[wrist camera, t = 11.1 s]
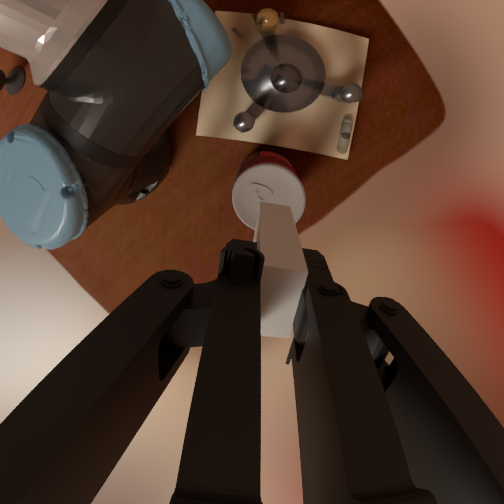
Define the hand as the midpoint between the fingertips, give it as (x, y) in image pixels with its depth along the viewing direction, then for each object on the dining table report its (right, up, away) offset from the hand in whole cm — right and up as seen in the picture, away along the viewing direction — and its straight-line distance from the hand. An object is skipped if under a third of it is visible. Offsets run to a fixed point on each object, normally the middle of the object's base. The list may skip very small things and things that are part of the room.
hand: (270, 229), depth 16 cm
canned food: (+1, +9, +27) cm, 29 cm away
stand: (+3, +21, +21) cm, 30 cm away
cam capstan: (+3, +22, +18) cm, 29 cm away
